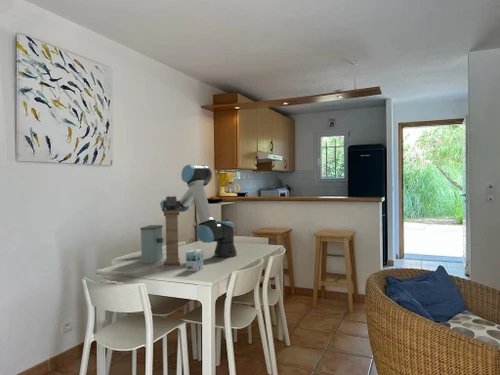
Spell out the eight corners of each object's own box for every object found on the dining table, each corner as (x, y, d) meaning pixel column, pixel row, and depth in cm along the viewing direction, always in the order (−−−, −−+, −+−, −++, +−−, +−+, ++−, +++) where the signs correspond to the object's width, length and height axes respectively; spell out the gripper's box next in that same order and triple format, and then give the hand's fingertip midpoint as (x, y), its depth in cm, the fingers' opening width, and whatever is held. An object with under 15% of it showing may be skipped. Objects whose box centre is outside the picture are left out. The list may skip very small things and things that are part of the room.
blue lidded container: (167, 258, 244) (166, 225, 244) (158, 263, 230) (157, 227, 230) (150, 258, 246) (150, 225, 246) (140, 263, 231) (140, 227, 231)
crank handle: (176, 204, 224) (176, 196, 224) (166, 205, 223) (166, 196, 223) (176, 203, 252) (175, 195, 252) (167, 203, 250) (166, 195, 250)
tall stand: (180, 265, 223) (179, 211, 223) (164, 266, 221) (163, 212, 221) (179, 260, 238) (178, 210, 238) (165, 261, 236) (164, 210, 236)
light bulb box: (197, 272, 204) (197, 252, 204) (185, 271, 206) (185, 252, 206) (203, 267, 215) (203, 249, 215) (192, 267, 216) (192, 248, 216)
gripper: (183, 217, 261) (184, 202, 241) (160, 218, 258) (158, 202, 238) (183, 208, 265) (183, 191, 245) (160, 208, 262) (158, 192, 242)
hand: (171, 197), depth 242 cm, fingers closed on crank handle, 3 cm apart
